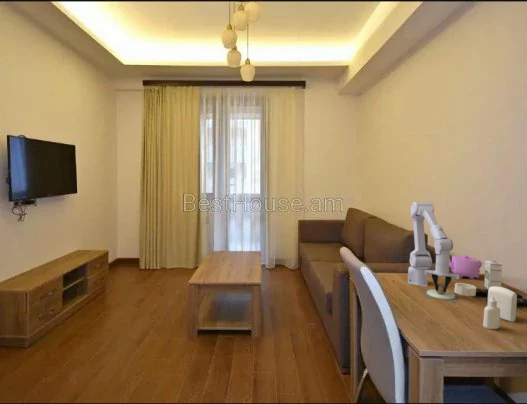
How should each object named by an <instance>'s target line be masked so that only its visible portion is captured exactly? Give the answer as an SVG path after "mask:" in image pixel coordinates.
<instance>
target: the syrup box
mask: <svg viewBox="0 0 527 404" xmlns="http://www.w3.org/2000/svg"><path fill="white" fill-rule="evenodd" d="M484 264H485V265H484V285H483V287H484V288H485V289H487V290H489V288H490V287H493V286H497V287H502V277H503V276H502V274H503V271H502V270H503V263H502V262H499V261H498V260H492V259H490V260H485V263H484Z"/></svg>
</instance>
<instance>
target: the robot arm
mask: <svg viewBox="0 0 527 404" xmlns="http://www.w3.org/2000/svg"><path fill="white" fill-rule="evenodd" d="M434 212H435V206H434V204H433V202H431V201H427V202H424V201H422V202H420V201H419V202H417V201H413V202H412V204H411V205H410V216H411V218H412V223H413V224H412V225H413V238H414V241H413V242H414V250H413V251H411V252H410V254H409V264H410V266H408V271H407V284H410V285H416V286H421V287H428V284H429V281H428V275H431V279H432V282H433V284H434V290H436V291H437V288H438V285H439V283H438V282H439V281H438V279H439V277H444V278H445V279H444V280H445V282H444V286H445V289H444V292H446V291H447V289H448V287H449V284H450V283H451V281H452V279H456V280H459V279H460V278H459V274H454V273H453V272H450V266H449V259H450V260H451V251H452V250H453V248H454V242H453V240H452V238H450V237H448V236H447V235H446V232H445V231H444V228H443V227H442V225H439V224H438V220H437V218H436V216H435V213H434ZM424 220H426V222H427V224H428V225H429V227H430V228H429V233H430V234H431V236H432V239H433V240H434V243H433V247H434V253H435V266H434V267H435V270H434V269H432V270H431V269H430V267H431V266H432V265H433V259H432V256H431V253H430V251H428V250H427V249H426V237H425V236H426V235H425V225H424V224H425V223H424Z"/></svg>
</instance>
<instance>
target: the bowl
mask: <svg viewBox="0 0 527 404" xmlns="http://www.w3.org/2000/svg"><path fill="white" fill-rule="evenodd" d="M454 294H457V295H459V296H465V297H466V296H467V297H475V296H476V294H477V286H475V285H474V284H470V283H466V282H465V283H464V282H456V283H454Z"/></svg>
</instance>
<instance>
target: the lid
mask: <svg viewBox="0 0 527 404" xmlns="http://www.w3.org/2000/svg"><path fill="white" fill-rule="evenodd" d="M444 289H445V284H438V288H437V291H436V289H430V290H428V291H427V295H429V296H431V297H433V298H436V299H435V300H438V299H442V300H441V301H444V300H453V299H455V295H454V294H455V293H454V294H452V293H453V292H450V291H447V290H446V292H444ZM433 298H432V299H433Z"/></svg>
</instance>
